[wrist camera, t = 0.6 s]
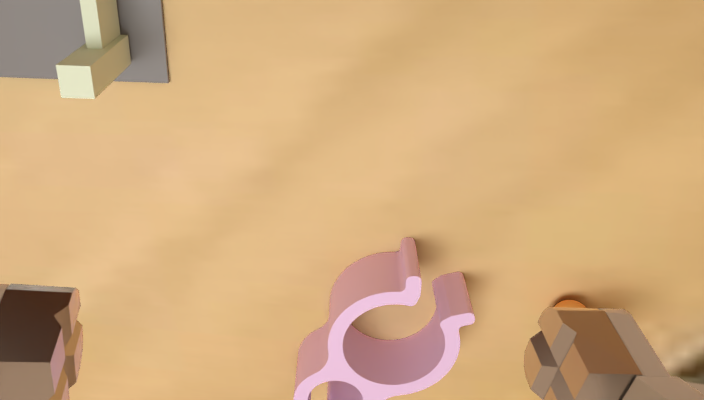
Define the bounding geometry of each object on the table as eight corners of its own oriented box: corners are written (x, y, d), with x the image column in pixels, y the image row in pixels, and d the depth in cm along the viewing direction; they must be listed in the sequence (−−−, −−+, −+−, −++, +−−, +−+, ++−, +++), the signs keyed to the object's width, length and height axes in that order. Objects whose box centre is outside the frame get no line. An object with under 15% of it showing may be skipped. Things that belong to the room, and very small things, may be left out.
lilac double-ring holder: (360, 401, 75) (361, 449, 69) (270, 347, 72) (262, 394, 66) (483, 286, 68) (496, 329, 62) (389, 221, 65) (393, 259, 58)
